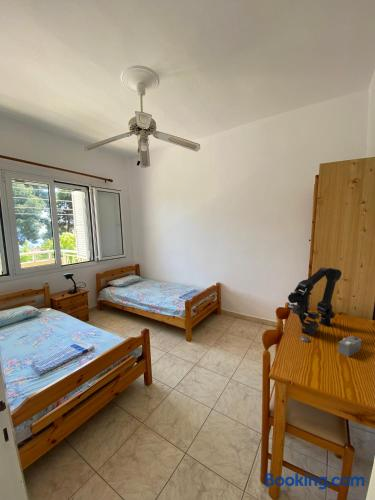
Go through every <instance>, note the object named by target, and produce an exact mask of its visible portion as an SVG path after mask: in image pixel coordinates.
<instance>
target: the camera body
mask: <svg viewBox="0 0 375 500" xmlns="http://www.w3.org/2000/svg"><path fill="white" fill-rule="evenodd" d="M337 346H338V347H337V352H338V353H340V354H341V355H343V356H345V357H348V358H349V357H351V356H352V355H354V354H355V353H357V352H358V351H361V349H362V348H361V347H362V339H361V338H359V337H356V336H354V335H349V336H347V337H344V338H343V339H341V340H340V341H338V345H337Z"/></svg>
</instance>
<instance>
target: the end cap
mask: <svg viewBox="0 0 375 500" xmlns="http://www.w3.org/2000/svg"><path fill="white" fill-rule="evenodd" d="M319 324H320V323H318V321H316V319H315V320H311V319H309V318H308V319H307V318H306V319H305V321H304V322H303V323H301V333H302V334H304V335H306V336H307V335H308V336H311V335H313V334H314V333H315V332H316V331H317V330H318V329H319V327H320V325H319Z"/></svg>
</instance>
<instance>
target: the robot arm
mask: <svg viewBox="0 0 375 500" xmlns="http://www.w3.org/2000/svg"><path fill="white" fill-rule="evenodd" d="M318 269H319V270H317V271H316V272H314V273H313V274H312V275H311V276H310V277H309V278H307V279H303V280H301V281H299V282H298V283H297V285H296V287H295V288H294V290H293V292H290V293H289V294H288V296H287V300H288V302H289V303H290V304H288V306H287V309H288V310H289V311H292V313H293V314H295V315H296V316H298V318H299V320H300V324H302V323H303V322H306V320H307V318H308V319H309V320H312V321H314V320H315V321H316V320H318V319H320V321H317V323H318V324H321V325H324V326H326V327H330V326H332V325H334V324H333V323H332V321H331V320H332V319H334V318H335V316H336V314H335V312H334V311H333V305H332V300H333V299H332V298H333V294H334V290H335V286H336V283H337V282H338V281H339V280H340V278H341V276H342V271H341V270H340V269H338V268H334V267H328V268H326V267H320V268H318ZM324 277H325V278H326V283H325V288H324V291H323V294H322V295H323V296H322V299H321V301H317V305H316V309H317V310H316V311H317V312H315V311H311V312H310V308H309V305H310V302H309V301H310V296H311V295H313V294H312V293H311V291H312V290H313V289H314V286H315V285H316V284H317V283H318V282H319V281H321V280H322V279H323V278H324Z"/></svg>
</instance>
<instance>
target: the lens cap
mask: <svg viewBox="0 0 375 500" xmlns="http://www.w3.org/2000/svg"><path fill="white" fill-rule="evenodd" d="M299 339H300V340H301V342H304V343H309V342H311V339H310V338H309V337H308V336H305V335H304V336H303V335H301V336H300V337H299Z"/></svg>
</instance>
